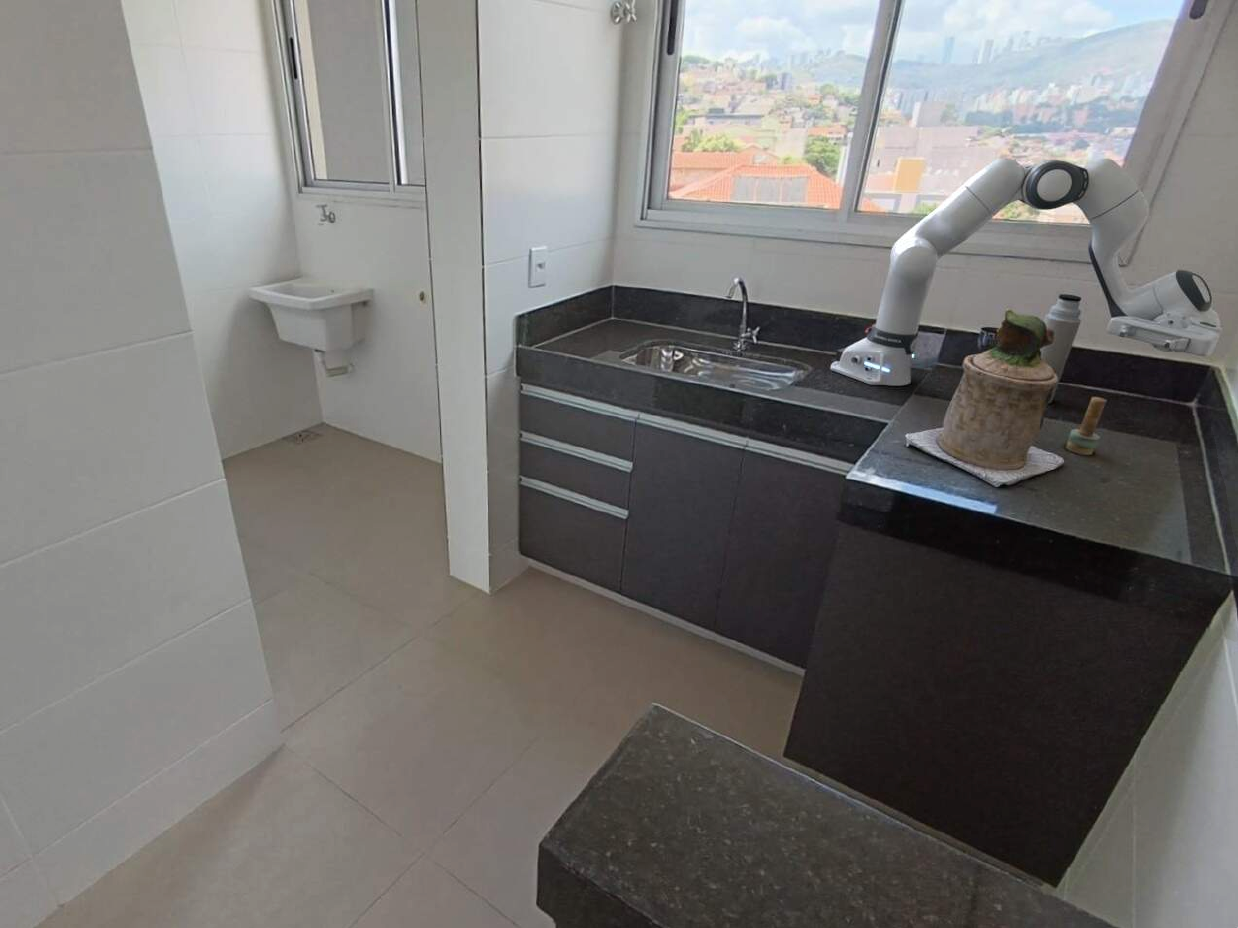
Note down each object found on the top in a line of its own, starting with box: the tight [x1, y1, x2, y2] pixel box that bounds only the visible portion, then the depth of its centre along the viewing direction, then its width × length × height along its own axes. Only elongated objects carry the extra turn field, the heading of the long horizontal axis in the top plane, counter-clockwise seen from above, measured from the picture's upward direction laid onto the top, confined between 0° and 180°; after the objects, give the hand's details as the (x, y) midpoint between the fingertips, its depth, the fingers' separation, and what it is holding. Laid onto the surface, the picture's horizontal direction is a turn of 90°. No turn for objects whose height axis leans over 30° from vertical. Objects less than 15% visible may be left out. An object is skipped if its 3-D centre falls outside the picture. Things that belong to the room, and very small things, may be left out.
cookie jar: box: [904, 308, 1065, 488], centre depth 143 cm, size 25×25×32 cm
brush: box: [1065, 396, 1107, 456], centre depth 152 cm, size 6×6×12 cm
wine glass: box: [977, 326, 1000, 354], centre depth 192 cm, size 8×8×15 cm
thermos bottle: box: [1040, 293, 1082, 404], centre depth 179 cm, size 8×8×28 cm
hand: (1144, 338), depth 149 cm, fingers open, 8 cm apart
